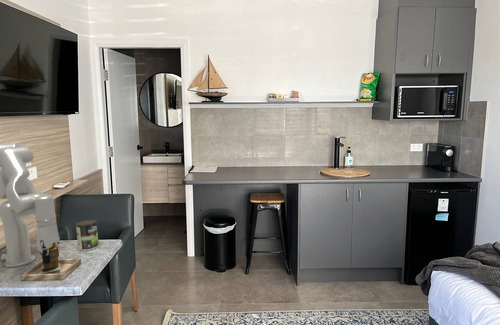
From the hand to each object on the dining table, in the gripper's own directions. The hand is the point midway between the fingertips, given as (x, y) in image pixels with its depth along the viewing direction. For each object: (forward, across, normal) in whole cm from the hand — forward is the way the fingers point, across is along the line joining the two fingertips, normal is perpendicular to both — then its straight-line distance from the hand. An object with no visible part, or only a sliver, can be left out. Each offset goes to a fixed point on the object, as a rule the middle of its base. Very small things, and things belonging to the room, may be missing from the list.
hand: (51, 259), depth 157 cm
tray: (+6, 0, 0) cm, 6 cm away
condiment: (+4, +1, 0) cm, 4 cm away
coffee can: (+6, -29, +3) cm, 30 cm away
